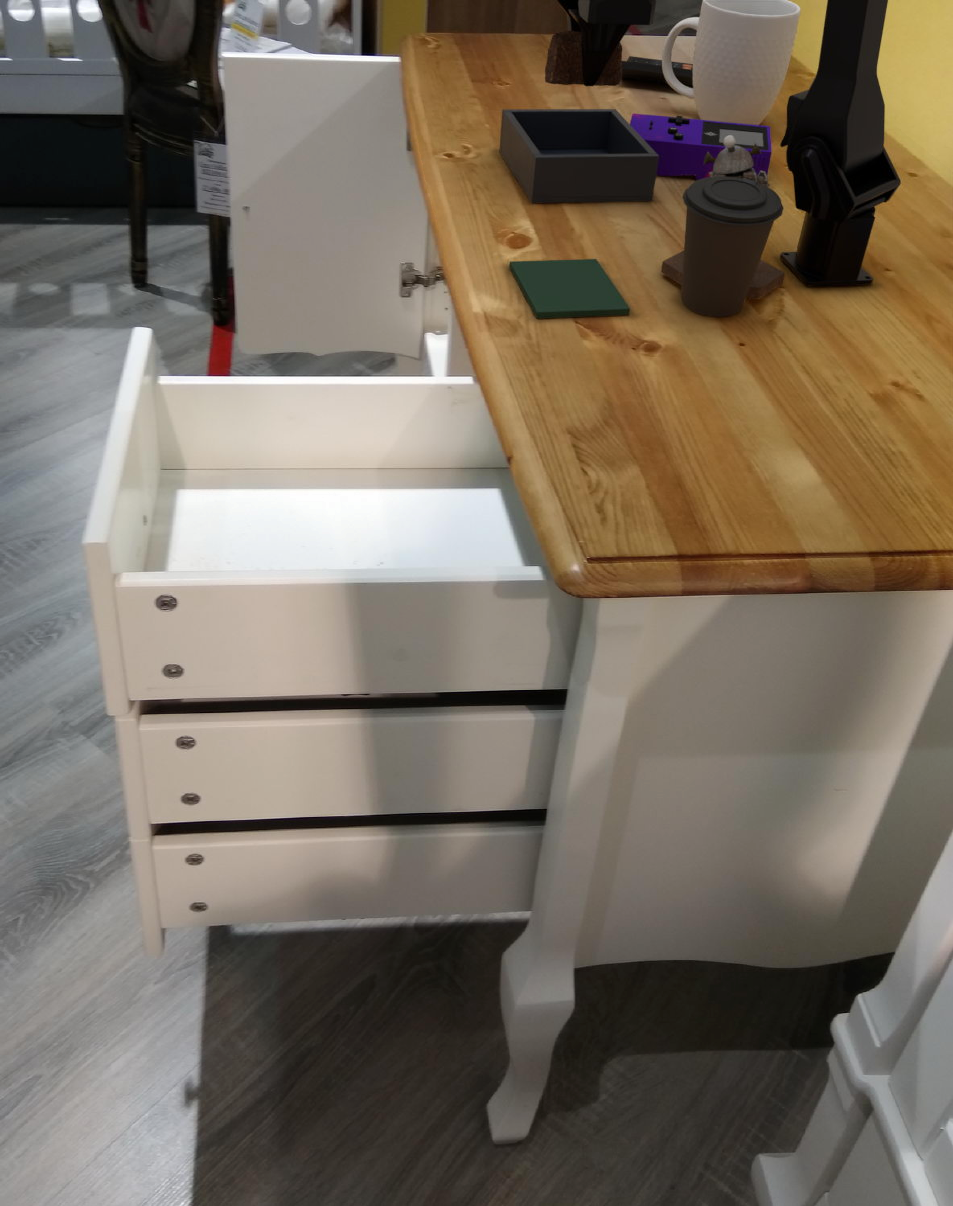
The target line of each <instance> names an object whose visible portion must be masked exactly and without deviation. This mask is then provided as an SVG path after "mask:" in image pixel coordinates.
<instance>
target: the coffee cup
mask: <svg viewBox="0 0 953 1206" xmlns="http://www.w3.org/2000/svg"><path fill="white" fill-rule="evenodd" d="M682 200H683V204H684V205H685V206H686V214H685V215H686V216H685V229H684V243H683V245H684V246H683V251H684V258H683V273H682V285H681V288H680V289H681V290H680V291H681V292H680V300H681V302H682V304H683V305H684V306H685V308H687V309H689V310H691V311H692V312H694V313H697V314H699V315H702V316H707V317H712V318H724V317H725V318H726V317H731V316H734V315H736V314H739V313H740V312H741V311H742V310H743V309H744V305H745V302H746V299H747V298H746V297H747V294H748V291H749V289H750V286H751V283H752V280H753V278H754V275H755V272H756V269H757V267H758V264H759V261H760V259H761V258H762V255H763V252H764V250H765V247H766V245H767V242H768V239H769V236H770V234H771V231H772V227H773V225H774V222H775V221H776V220H778V219H779V218H780V217H781V216H782V215H783V212H784V205H783V203H782V199H781V197H780V196H779V194H778V193H777V192H776V191H774V189H772V188H770V186H769V187H767V186H765V185H763V184H760V183H758V182H756V181H754V180H751V179H749V178H745V177H744V178H737V177H727V176H717V177H708V178H703V179H700V180H695V181H694V182H692V183H690V184H689V186H688V187H687V188H686V189H685V190H684V192H683V195H682Z"/></svg>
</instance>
